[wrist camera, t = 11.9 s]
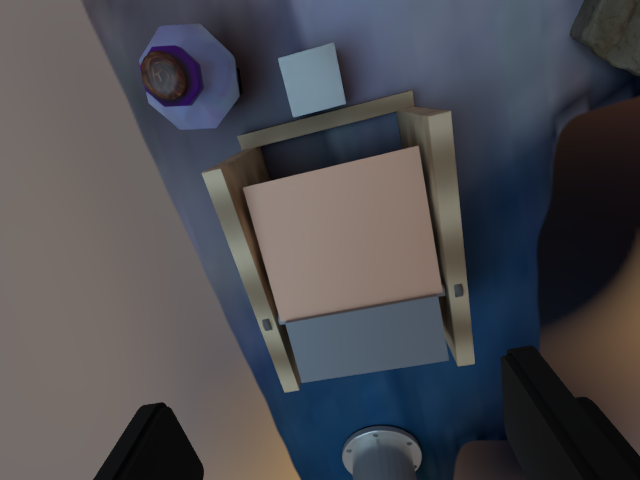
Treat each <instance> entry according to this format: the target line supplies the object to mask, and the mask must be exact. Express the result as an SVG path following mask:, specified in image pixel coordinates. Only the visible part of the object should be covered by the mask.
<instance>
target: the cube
mask: <svg viewBox="0 0 640 480" xmlns="http://www.w3.org/2000/svg"><path fill="white" fill-rule="evenodd" d="M278 60H279V64H280V68H281V72H282V76H283V80H284V84H285V88H286V92H287V96H288V99H289V103H290V107H291V111H292V115H293V118H294V117H298V116H301V115H305V114H309V113H313V112H317V111H321V110H325V109H328V108H332V107H336V106H340V105H344V104H346V101H345V96H344V91H343V85H342V80H341V75H340V70H339V65H338V60H337V55H336V50H335V45H334V43H330V44H327V45H323V46H320V47H316V48H313V49H309V50H306V51H302V52H299V53H295V54H292V55H288V56H285V57H281V58H278Z"/></svg>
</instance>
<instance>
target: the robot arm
mask: <svg viewBox="0 0 640 480" xmlns="http://www.w3.org/2000/svg"><path fill="white" fill-rule="evenodd" d="M501 372H502V388H503V405H504V422H505V431H506V435H507V438H508V441H509V443H510V445H511V447H512V449H513V451H514V453H515V455H516V457H517V459H518V461H519V463H520V465H521V467H522V469H523V471H524V473H525V475H526V477H527V479H528V480H640V456H639V455H638V454H637V452H636V451H635V450H634V449H633V448H632V447H631V445H630V444H629V443H628V442H627V441H626V439H625V438H624V437H623V436H622V435H621V433H620V432H619V431H618V430H617V429H616V428H615V426H614V425H613V424H612V423H611V422H610V420H609V419H608V418H607V417H606V416H605V415H604V413H603V412H602V411H601V410H600V409H599V407H598V406H597V405H596V404H595V403H594V402H593V401H592V400H590V399H588V398H587V397H578V398H575V397H574V396H573V395H572V394H571V392H570V391H569V390H568V389H567V387H566V386H565V385H564V384H563V382H562V381H561V380H560V379H559V377H558V376H557V375H556V373H555V372H554V371H553V370H552V369H551V368H550V366H549V365H548V363H547V362H546V361H545V360H544V358H543V357H542V356H541V355H540V353H539V352H538V351H537V350H536V349H535V348H534V347H533V346H526V347H520V348H513V349H508V350H507V356H502V357H501ZM342 456H343V463H344V466H345V467H346V469H347V470H348V471H349V472H350V473H351V474H352V475H353V480H417V478H416V473H415V471H416V470H417V469H418V468H419V466H420V464H421V460H422V453H421V449H420V446H419V444H418V442H417V440H416V439H415V438H414V437H413V436H412V435H410V434H409V433H408V432H406V431H404V430H402V429H399V428H396V427H390V426H372V427H368V428H364V429H362V430H359V431H358V432H356V433H354V434H353V435H351V436H350V437H349V438H348V439H347V441H346V442H345V444H344V446H343V451H342ZM203 476H204V469H203V466H202V463H201V461H200V460H199V458H198V456H197V454H196V452H195V451H194V449H193V447H192V445H191V443H190V442H189V440H188V438H187V436H186V434H185V432H184V431H183V429H182V427H181V425H180V423H179V422H178V420H177V418H176V416H175V415H174V413H173V411H172V409H171V408H169V407H167V406H166V404H165V403H163V402H162V403H155V404H148V405H143V406H142V407H140V408H139V409H138V411H137V412H136V414H135V415H134V417H133V418H132V420H131V422H130V423H129V425H128V426H127V428H126V429H125V431H124V433H123V434H122V436H121V437H120V439H119V440H118V442H117V443H116V445H115V447H114V448H113V450H112V451H111V453H110V455H109V456H108V457H107V459H106V461H105V462H104V464H103V465H102V467H101V468H100V470H99V471H98V473H97V475H96V476H95V478H94V479H93V480H203Z"/></svg>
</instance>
